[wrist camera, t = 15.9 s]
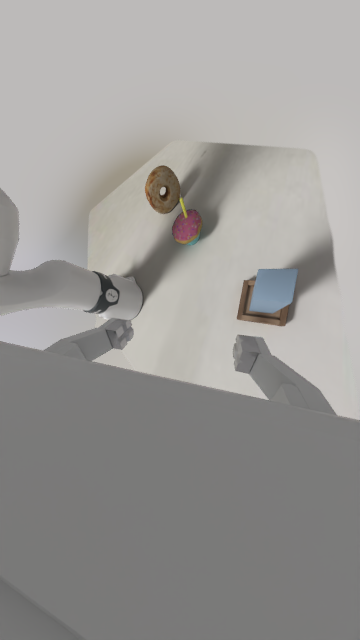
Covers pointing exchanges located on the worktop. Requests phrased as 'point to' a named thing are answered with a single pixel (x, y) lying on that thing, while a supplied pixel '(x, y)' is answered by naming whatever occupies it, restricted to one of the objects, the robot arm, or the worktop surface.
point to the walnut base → (259, 317)
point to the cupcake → (187, 226)
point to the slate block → (273, 290)
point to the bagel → (156, 181)
